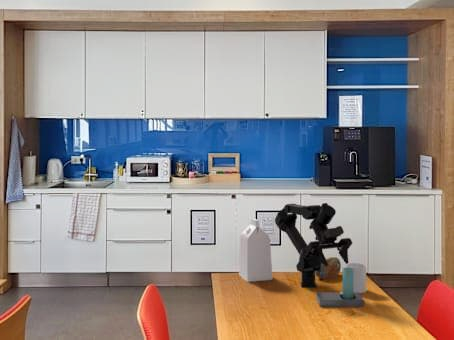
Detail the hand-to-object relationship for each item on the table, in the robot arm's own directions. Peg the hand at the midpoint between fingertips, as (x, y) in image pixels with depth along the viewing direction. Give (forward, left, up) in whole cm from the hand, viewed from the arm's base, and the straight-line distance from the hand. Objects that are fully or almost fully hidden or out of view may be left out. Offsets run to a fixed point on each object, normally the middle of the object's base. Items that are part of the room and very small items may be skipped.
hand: (337, 264), depth 224 cm
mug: (-13, +9, -13) cm, 21 cm away
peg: (+6, +3, -13) cm, 15 cm away
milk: (-34, -31, -13) cm, 48 cm away
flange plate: (+5, 0, -13) cm, 14 cm away
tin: (-34, +1, -14) cm, 36 cm away
